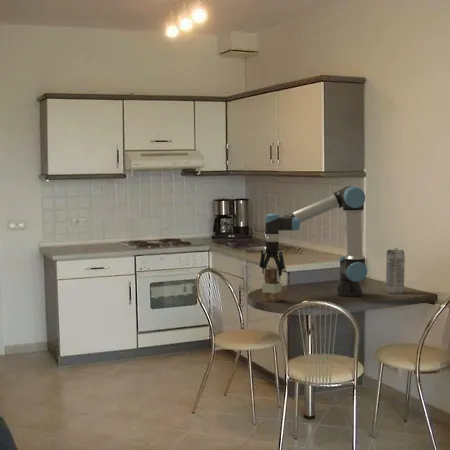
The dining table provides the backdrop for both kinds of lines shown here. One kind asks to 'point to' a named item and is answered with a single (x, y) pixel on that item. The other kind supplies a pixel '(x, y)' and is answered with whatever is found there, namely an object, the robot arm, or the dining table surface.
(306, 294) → the dining table surface
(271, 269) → the block
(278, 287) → the tower top
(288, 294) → the dining table surface
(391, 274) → the juice carton
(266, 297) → the tower base
